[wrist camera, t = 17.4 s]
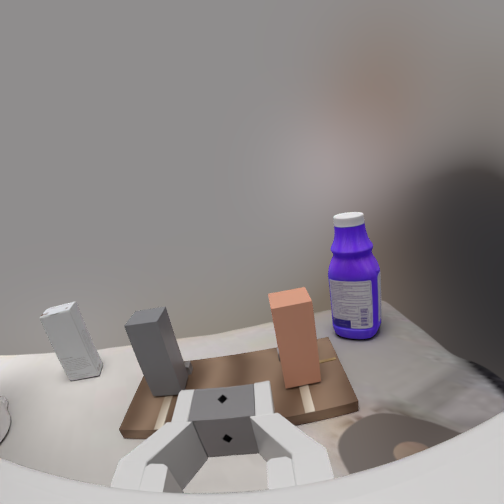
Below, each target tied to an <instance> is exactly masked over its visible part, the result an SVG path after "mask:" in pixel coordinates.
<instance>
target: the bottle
mask: <svg viewBox="0 0 504 504" xmlns="http://www.w3.org/2000/svg"><path fill="white" fill-rule="evenodd" d="M333 219H334V228H335V237H334V241H333V244H332V246H331V251H332V253H333V257H332V260H331V263H330V266H329V271H328V277H329V286H330V297H331V307H332V319H333V327H334V330H335V332H336V333H337V334H338V335H339V336H342V337H345V338H352V339H368V338H371V337H372V336H374V335H375V334H376V333H377V330H378V328H379V326H380V324H381V280H380V268H379V265H378V263H377V260H376V259H375V257H374V256H373V254H372V252H371V251H372V248H373V244H372V242H371V241H370V240H369V238H368V236H367V233H366V230H365V221H364V215H363V213H361V212H349V213H341V214H337V215H335V216H334V217H333Z"/></svg>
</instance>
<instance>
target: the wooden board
mask: <svg viewBox="0 0 504 504" xmlns="http://www.w3.org/2000/svg"><path fill="white" fill-rule="evenodd" d="M317 346H318V355H319V364H320V374H321V381H320V382H316V383H311V384H306V385H301V386H296V387H291V388H285V382H284V377H283V371H282V366H281V360H280V355H279V350H278V347H277V348H272V349H266V350H260V351H255V352H249V353H242V354H236V355H229V356H223V357H216V358H208V359H201V360H193V361H184V364H185V367H186V370H187V373H188V379H187V383H186V386H185V390H193V389H194V390H195V389H206V388H220V387H231V386H239V385H247V384H254V383H258V382H264V381H270V384H271V390H272V396H273V402H274V408H275V413H279V414H280V415H282V416H283V417H284V418H286V419H287V420H288V421H289V422H291V423H292V424H293V425H300V424H305V423H310V422H315V421H319V420H324V419H328V418H332V417H336V416H340V415H344V414H348V413H352V412H356V411H358V399H357V397H356V395H355V393H354V391H353V388H352V386H351V384H350V382H349V380H348V378H347V376H346V373H345V371H344V369H343V367H342V365H341V363H340V361H339V359H338V357H337V354H336V352H335V350H334V348H333V346H332V344H331V342H330V340H329V338H328V337H326V338H321V339H317ZM177 398H178V395H166V396H153V395H152V393H151V390H150V388H149V386H148V384H147V381H146V379H145V377H144V376H143V378H142V381H141V383H140V385H139V387H138V389H137V391H136V393H135V395H134V398H133V400H132V402H131V404H130V406H129V409H128V411H127V413H126V415H125V417H124V420H123V422H122V424H121V426H120V428H119V430H120V432H121V434H122V435H123V437H124V438H132V439H147V438H148V437H150V436H151V435H152V434H153V433H155V432H156V431H157V430H158V429H160V428H161V427H162V426H163V425H164V424H166V423H167V422H171V421H172V417H173V413H174V409H175V405H176V402H177Z"/></svg>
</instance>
